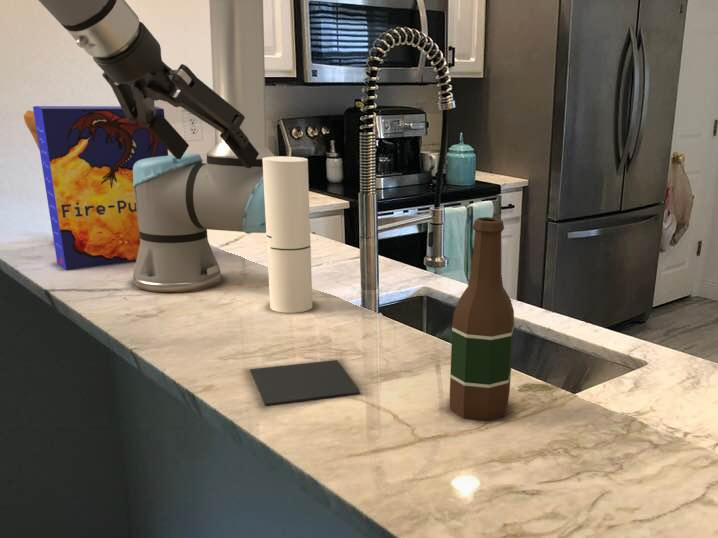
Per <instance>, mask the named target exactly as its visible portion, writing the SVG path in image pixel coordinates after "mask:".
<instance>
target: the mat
mask: <svg viewBox="0 0 718 538" xmlns="http://www.w3.org/2000/svg"><path fill="white" fill-rule="evenodd" d="M250 373H251V376H252V378H253V381H254V383H255V385H256V388H257V390H258V393H259V394H260V396H261V399H262V401H263V404H264V406H273V405H280V404H289V403H291V404H292V403H297V402H298V403H299V402H305V401H313V400H314V401H315V400H323V399H330V398H337V397H346V396H354V395H360V390H359V389H358V388H357V386H356V385H355V383H354V382H353V381H352V379H351V378H350V376H349V375H348V373H347V372H346V370H345V369H344V368H343V367H342V365H341V364H340V362H339V361H338V360H337V359H334V360H325V361H315V362H314V361H313V362H307V363H296V364H287V365H278V366H269V367H268V366H266V367H259V368H251V369H250Z"/></svg>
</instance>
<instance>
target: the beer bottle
mask: <svg viewBox="0 0 718 538" xmlns="http://www.w3.org/2000/svg"><path fill="white" fill-rule="evenodd" d="M472 229H473V230H474V237H473V238H474V239H473V246H472V247H473V248H472V256H471V267H470V274H469V280H468V283H467V287H466V288H465V290H464V291H463V293H461V296H460V297H459V299H458V301H457V304H456V306H455V308H454V311H453V315H452V325H451V348H450V374H449V375H450V377H449V409H450V410H451V412H454V413H455V414H457V415H458V416H459V417H461V418H463V419H467V420H475V421H476V420H477V421H486V422H487V421H490V420H493V419H494V420H495V419H497V418H501V417H504V416H505V415H506V413H507V409H508V406H509V399H510V392H511V391H510V390H511V389H510V388H511V379H512V378H511V377H512V376H511V375H512V359H513V349H514V348H513V346H514V331H515V310H514V306H513V303H512V299H511V297H510V296H509V293H508V292H507V291H506V289H505V288H504V284H503V277H502V276H503V275H502V232H503V231H504V229H505V225H504V221H503V220H502V219H500V218H498V217H492V216H491V217H489V216H484V217H482V216H481V217H477V218H476V219H475V220H474V222H473V224H472Z"/></svg>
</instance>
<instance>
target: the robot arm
mask: <svg viewBox="0 0 718 538" xmlns="http://www.w3.org/2000/svg"><path fill="white" fill-rule="evenodd" d="M38 1H39V3H40V4H41V5H42V6H43V7H44V8H45V9H46V10H47V11H48V12H49V14H51V15H52V16H53V18H54V19H55V20H56V21H57V22H58V23H59V24H60V26H61V27H63V29H65V30H66V31H67V33H69V35H70V36H71V37H72V38H73V39H74V40H75V41H76V45H77V46H78V47H79V48H82V49H83V50H84V51H85V52H86V53H87V54H88V55H89V56H91V57H92V59H93V61H94V63H96V65H97V66H98V67H99V68H100V70H102V71H103V73H102V77H103V79H104V80H105V81H106V82H107V83H108V84H109V86H110V88H111V89H112V92H113V93H114V95H115V98H116V100H117V101H118V103H119V106H121V108H122V110H123V112H124V114H125V116H126V118H127V119H128V120H129V121H130V122H135V121H136V120H137V121H138V122H139V123H140V124H141V125H142V126H145V127H146V126H147V127H148V129H149V130H150V131H151V132H152V133H153V134H154V135H155V136H156V137H157V138H158V139H159V141H160V142H161V143H162V144H163V145H164V146H165V147H166V148H167V149H168V152H170V154H168V156H160V157H152V158H146V159H141V160H139V161H137V162H136V163H135V164H134V166H133V188H134V193H135V201H136V209H137V217H138V226H139V234H140V247H139V251H138V255H137V259H136V262H135V265H134V269H133V276H132V277H133V284H134V286H135V287H137V288H139V289H141V290H144V291H151V292H159V293H180V292H181V293H182V292H183V293H184V292H193V291H198V290H205V289H208V288H211V287H214V286H216V285H217V284H219V283H220V282H222V275H221V274H222V273H221V269H220V265H219V264H218V261H217V258H216V256H215V254H214V251H213V249H212V247H211V244H210V242H209V237H208V230H211V231H225V232H238V233H245V234H266V217H265V198H264V179H263V160H262V159H263V158H265V157H276V155H275V154H274V153H273V152H272V150H270V149H269V148H268V145H267V117H266V116H267V114H266V113H267V111H266V71H265V70H266V69H265V29H264V28H265V27H264V25H265V24H264V0H208V2H209V4H208V5H209V26H210V47H211V48H210V50H211V51H210V52H211V54H210V55H211V73H212V74H211V75H212V88H211V87H210V86H208V84H206V83H204V81H202V80H201V79H200V78H198V77H197V76H196V75H195V73H194V72H193V71H192V70H191V69H190V68H189V67H188V66H187V65H186V64H184V63H180V65H179V66H178V68H177V69H173V68H171V67H170V66H168V65H167V64H166V63H165V62H164V60H163V59H162V48H161V45H160V43H159V40H157V39H156V37H154V35H153V33H152V32H150V31H151V30H149V29H148V27H147V26H146V25H145V24H144V22H142V21H140V18H139V15H137V13H136V12H135V11H134V10H133V8H132V7H131V6H130V5H129V4H128V3H127V2H126V0H38ZM177 91H179V93H178V94H177V96H175V95H176V93H177ZM155 101H156V102H157V101H163V102H166V103H167V104H169V105H171V106H172V107H175V108H179V107H180V108H182V109H184V110H185V111H187V112H188V113H190V114H192V115H193V116H195V117H196V118H198V119H199V120H202V121H203V122H204V123H205V124H207V125H209V126H210V127H212V128H214V145H213V146H212V147H211V148H210V149H209V150H208V151H207V152H206V162H205V163H204V162H203V158H202V156H201V154H199V153H186V151H187V149H188V148H189V146H190V144H189V143H188V141H186V140H185V139H184V138H183V137H182V135H181V134H180V133H179V132H178V131H177V130H176V129H175V128H174V126H173V125H172V124H171V123H170V122H169V120H167V118H166V117H165V115H164V116H163V115H162V114H157V115H156V117H155V116H154V114H155V113H156V111H157V110H158V109H156V108H155V107H156V105H155ZM164 117H165V118H164Z"/></svg>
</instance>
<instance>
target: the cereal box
mask: <svg viewBox="0 0 718 538" xmlns="http://www.w3.org/2000/svg"><path fill="white" fill-rule="evenodd" d="M155 108H156V109H158V110H157V111H156V113H155V114H154V116H155V117H156V115H157V114H162V115H163V116H164V118H165V119H166V116H165V109H164V108H162V107H160V106H155ZM32 111H34V117H35V124H36V130H37V136H38V143H39V148H38V150H39V149H40V150H39V155H40V162H41V169H42V176H43V181H44V186H45V195H46V200H47V206H48V212H49V220H50V226H52V227H51V231H52V237H53V244H54V249H55V250H54V252H55V258H56V264H57V265H59V266H60V267H61V268H63V269H65V271H69V270H70V271H71V270H78V269H87V268H94V267H103V266H112V265H119V264H127V263H136V259H137V255H138V251H139V247H140V234H139V226H138V217H137V209H136V201H135V193H134V188H133V166H134V164H135V163H136V162H137V161H139V160H141V159H146V158H152V157H160V156H168V155H169V150H168V149H167V148H166V147H165V146H164V145H163V144H162V143H161V142H160V141H159V139H158V138H157V137H156V136H155V135H154V134H153V133H152V132H151V131H150V130H149V129H148V127H147V126H146V127H145V126H142V125H141V124H140V123H139V122H138V121H137V120H136V121H135V122H130V121H129V120H128V119H127V118H126V116H125V114H124V112H123V110H122V108H121V106H120V105H119V106H118V105H117V106H114V105H113V106H111V105H108V106H107V105H106V106H105V105H104V106H103V105H102V106H101V105H99V106H98V105H85V106H84V105H50V106H49V105H35V106H32Z"/></svg>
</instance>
